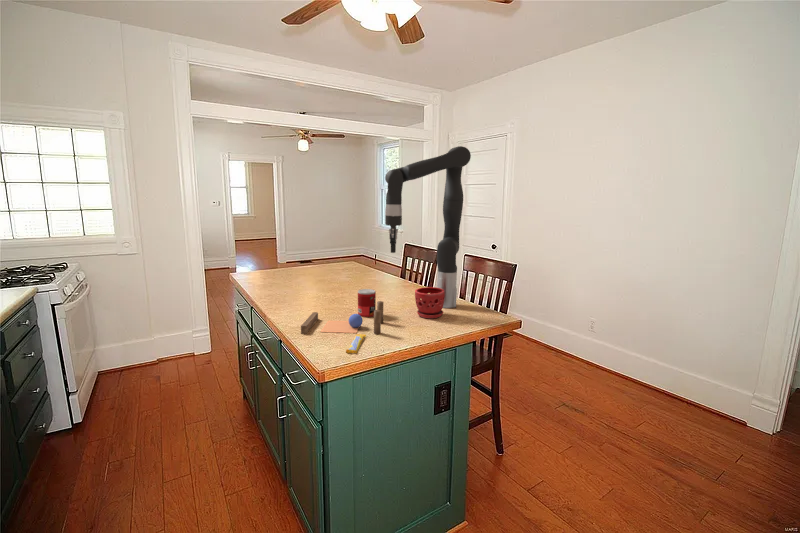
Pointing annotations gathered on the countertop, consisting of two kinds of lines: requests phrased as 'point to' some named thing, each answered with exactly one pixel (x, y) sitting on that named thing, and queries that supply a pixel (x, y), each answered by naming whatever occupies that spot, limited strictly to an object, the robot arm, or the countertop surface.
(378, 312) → the post
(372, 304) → the canned food
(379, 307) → the post
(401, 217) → the robot arm
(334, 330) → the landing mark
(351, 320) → the ball
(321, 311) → the countertop surface
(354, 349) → the candy bar
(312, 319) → the strip
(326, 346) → the countertop surface
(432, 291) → the plant pot
